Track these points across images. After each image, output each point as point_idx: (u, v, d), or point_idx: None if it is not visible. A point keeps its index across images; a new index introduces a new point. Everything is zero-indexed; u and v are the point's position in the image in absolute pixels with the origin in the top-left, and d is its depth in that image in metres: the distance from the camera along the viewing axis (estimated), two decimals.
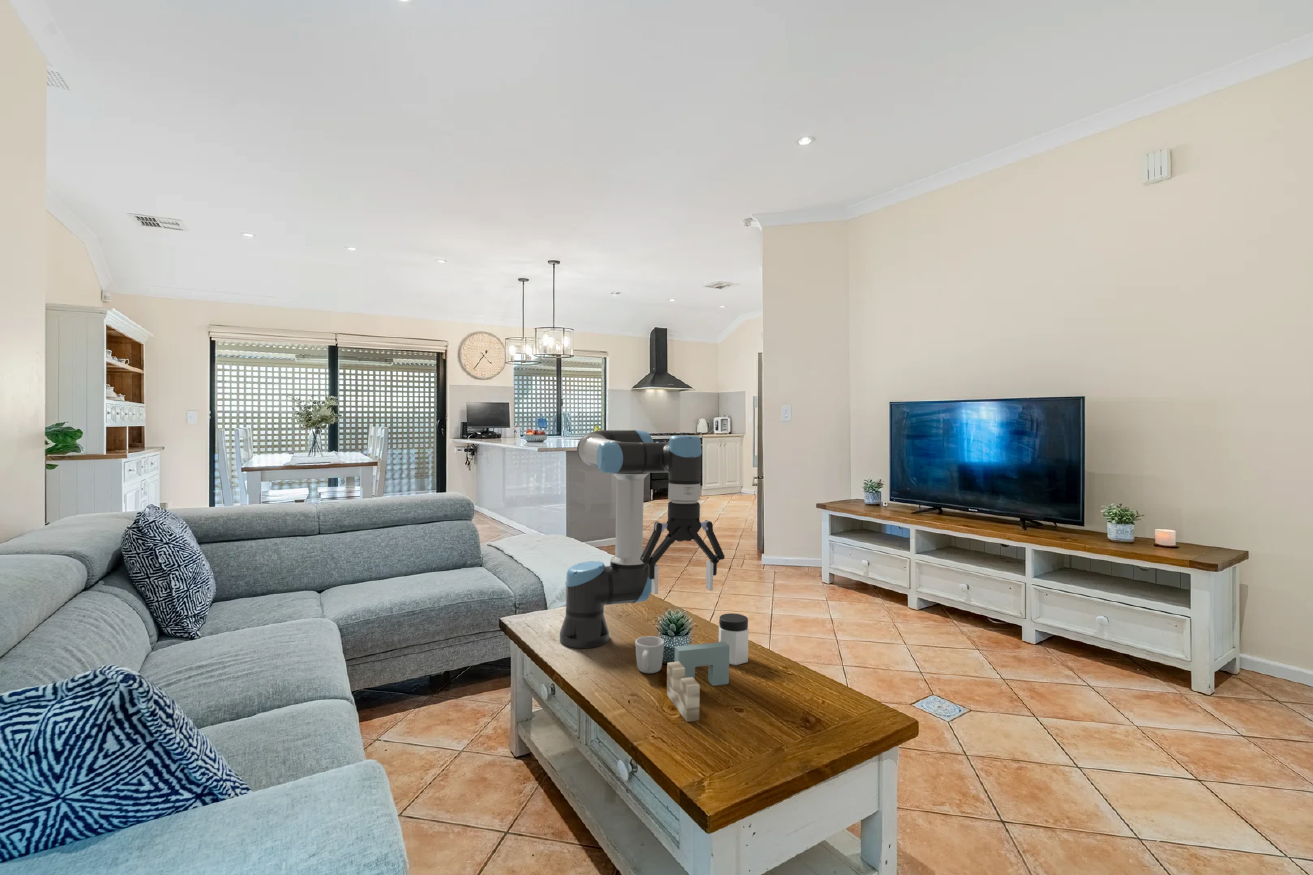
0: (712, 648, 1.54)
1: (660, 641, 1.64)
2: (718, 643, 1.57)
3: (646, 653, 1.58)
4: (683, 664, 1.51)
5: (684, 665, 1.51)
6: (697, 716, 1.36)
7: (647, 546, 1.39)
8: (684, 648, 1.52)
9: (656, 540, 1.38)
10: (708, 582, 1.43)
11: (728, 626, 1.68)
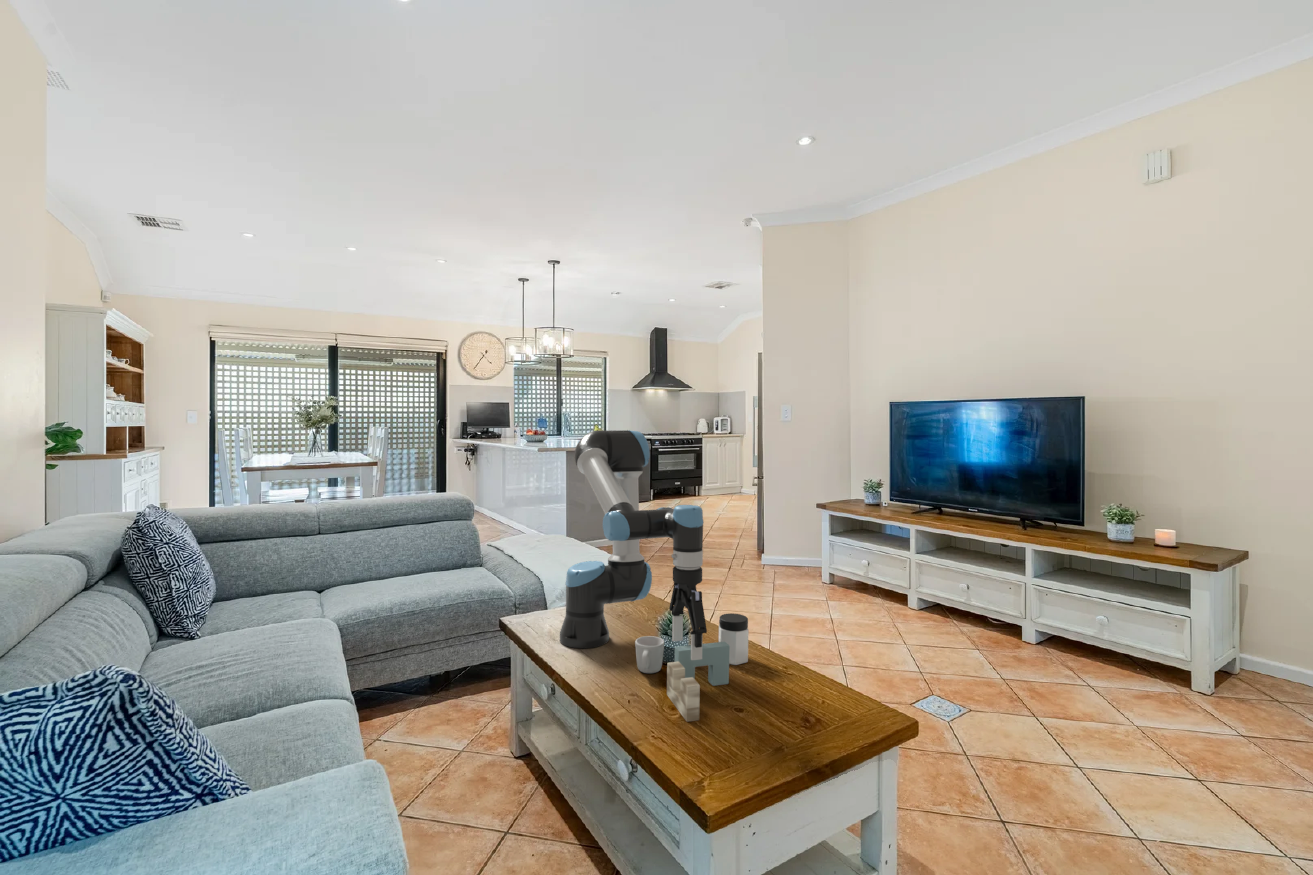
0: (712, 648, 1.54)
1: (660, 641, 1.64)
2: (718, 643, 1.57)
3: (646, 653, 1.58)
4: (683, 664, 1.51)
5: (684, 665, 1.51)
6: (697, 716, 1.36)
7: None
8: (684, 648, 1.52)
9: (673, 594, 1.59)
10: None
11: (728, 626, 1.68)
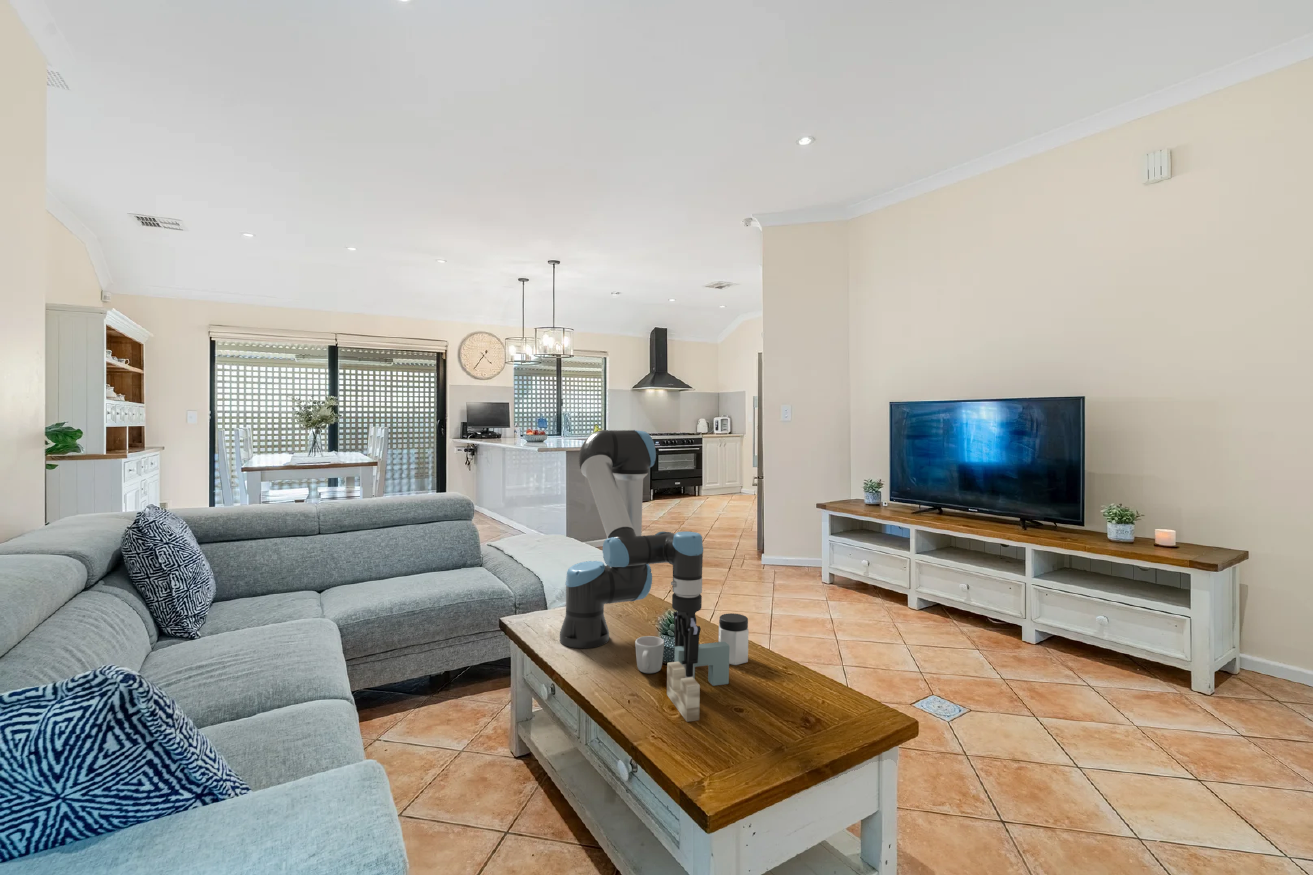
0: (712, 648, 1.54)
1: (660, 641, 1.64)
2: (718, 643, 1.57)
3: (646, 653, 1.58)
4: None
5: None
6: (697, 716, 1.36)
7: None
8: None
9: (675, 627, 1.57)
10: None
11: (728, 626, 1.68)
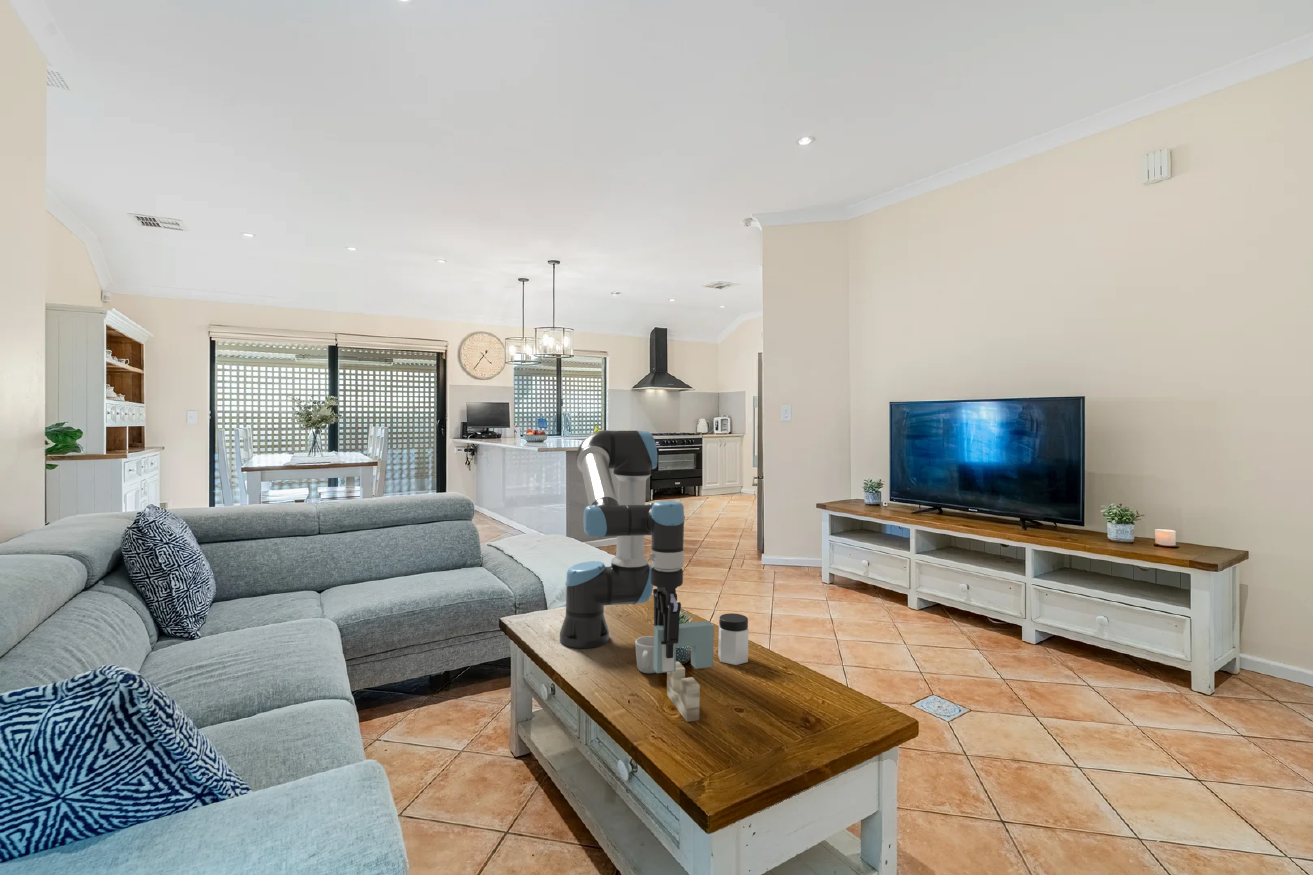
0: (694, 627, 1.41)
1: None
2: (702, 622, 1.44)
3: (646, 653, 1.58)
4: None
5: None
6: (697, 716, 1.36)
7: None
8: (663, 627, 1.40)
9: (655, 606, 1.45)
10: None
11: (728, 626, 1.68)
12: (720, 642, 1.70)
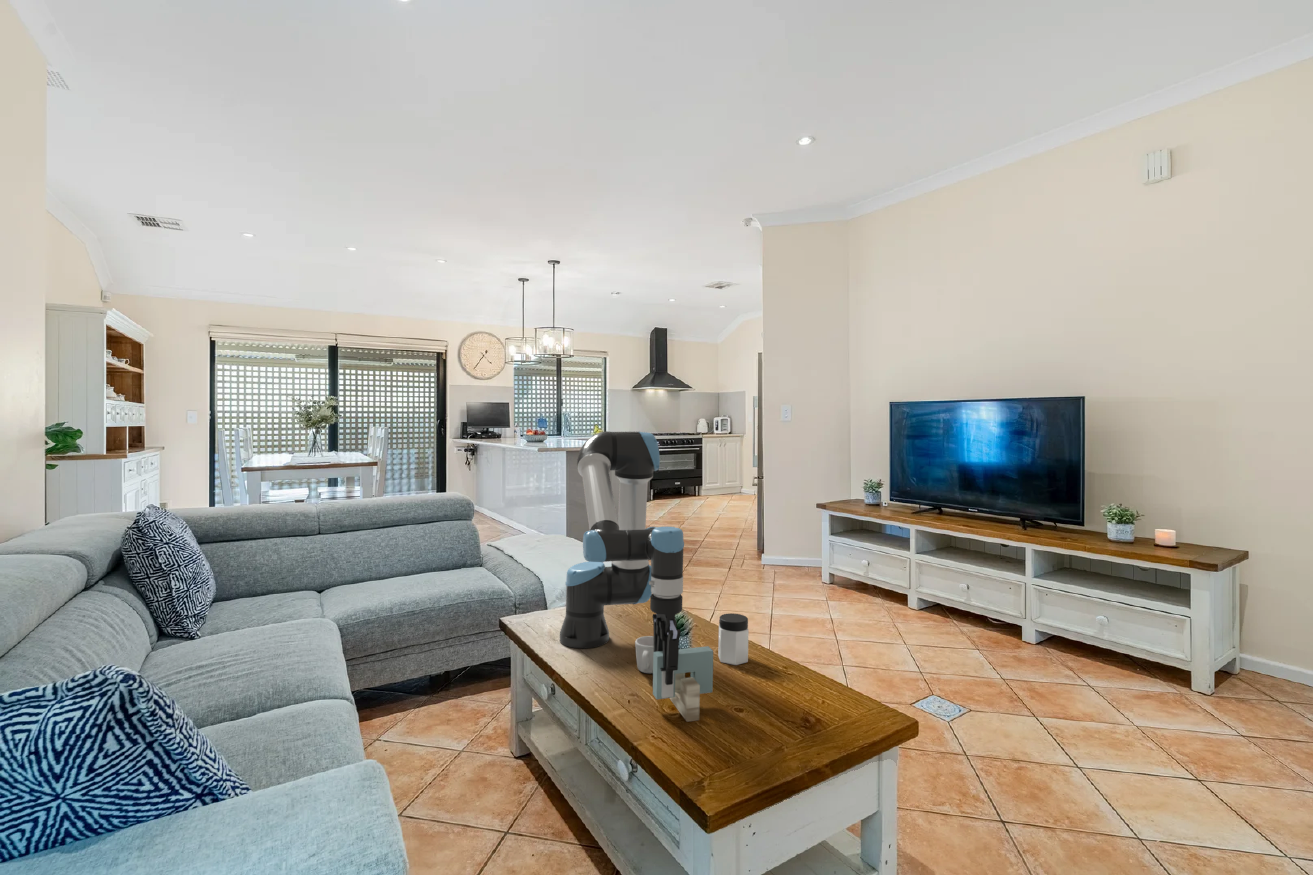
0: (694, 653, 1.41)
1: None
2: (701, 648, 1.44)
3: (646, 653, 1.58)
4: None
5: None
6: (697, 716, 1.36)
7: None
8: None
9: (654, 631, 1.45)
10: None
11: (728, 626, 1.68)
12: (720, 642, 1.70)
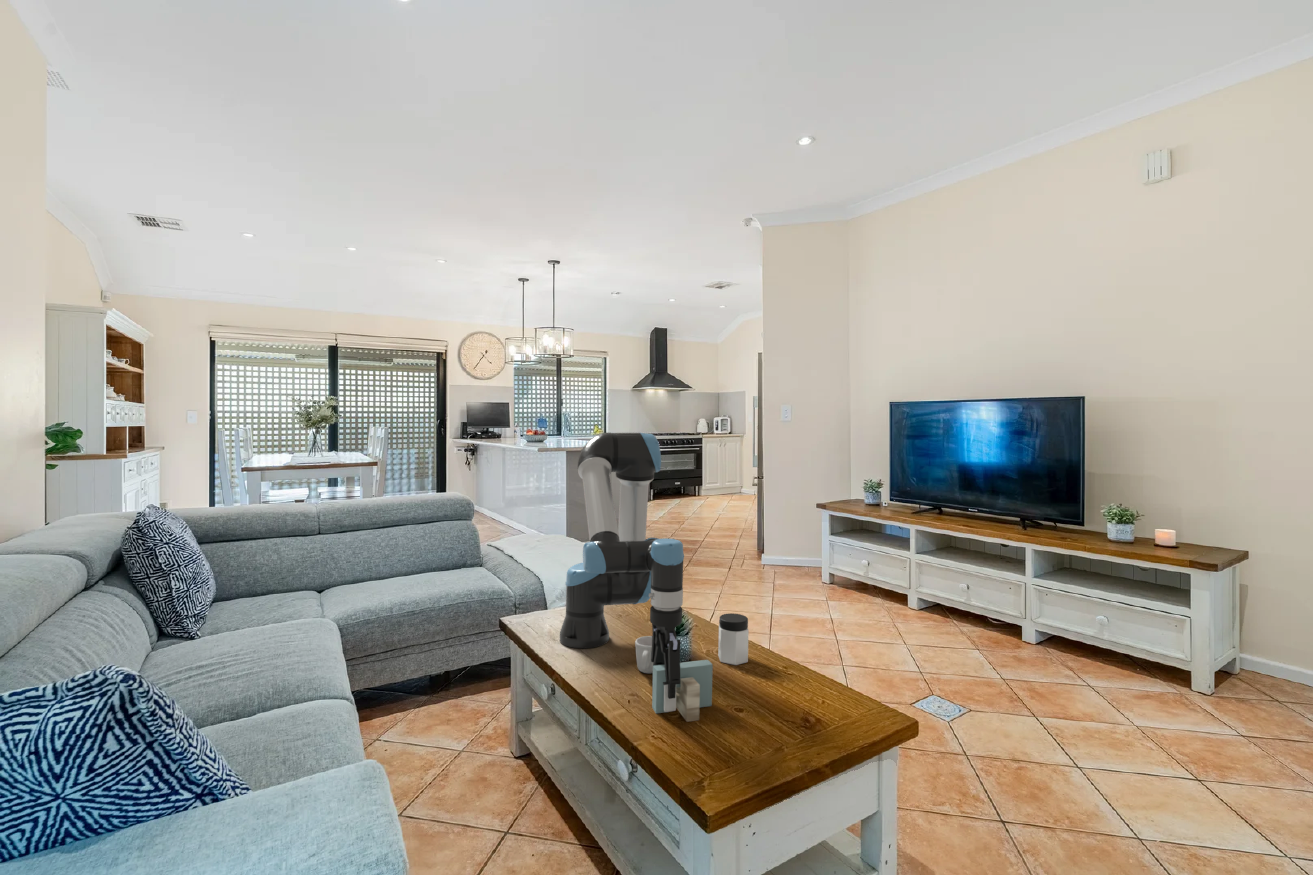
0: (693, 667, 1.41)
1: None
2: (700, 661, 1.44)
3: (646, 653, 1.58)
4: (662, 685, 1.39)
5: (663, 686, 1.39)
6: (697, 716, 1.36)
7: None
8: (662, 668, 1.40)
9: (653, 639, 1.46)
10: None
11: (728, 626, 1.68)
12: (720, 642, 1.70)
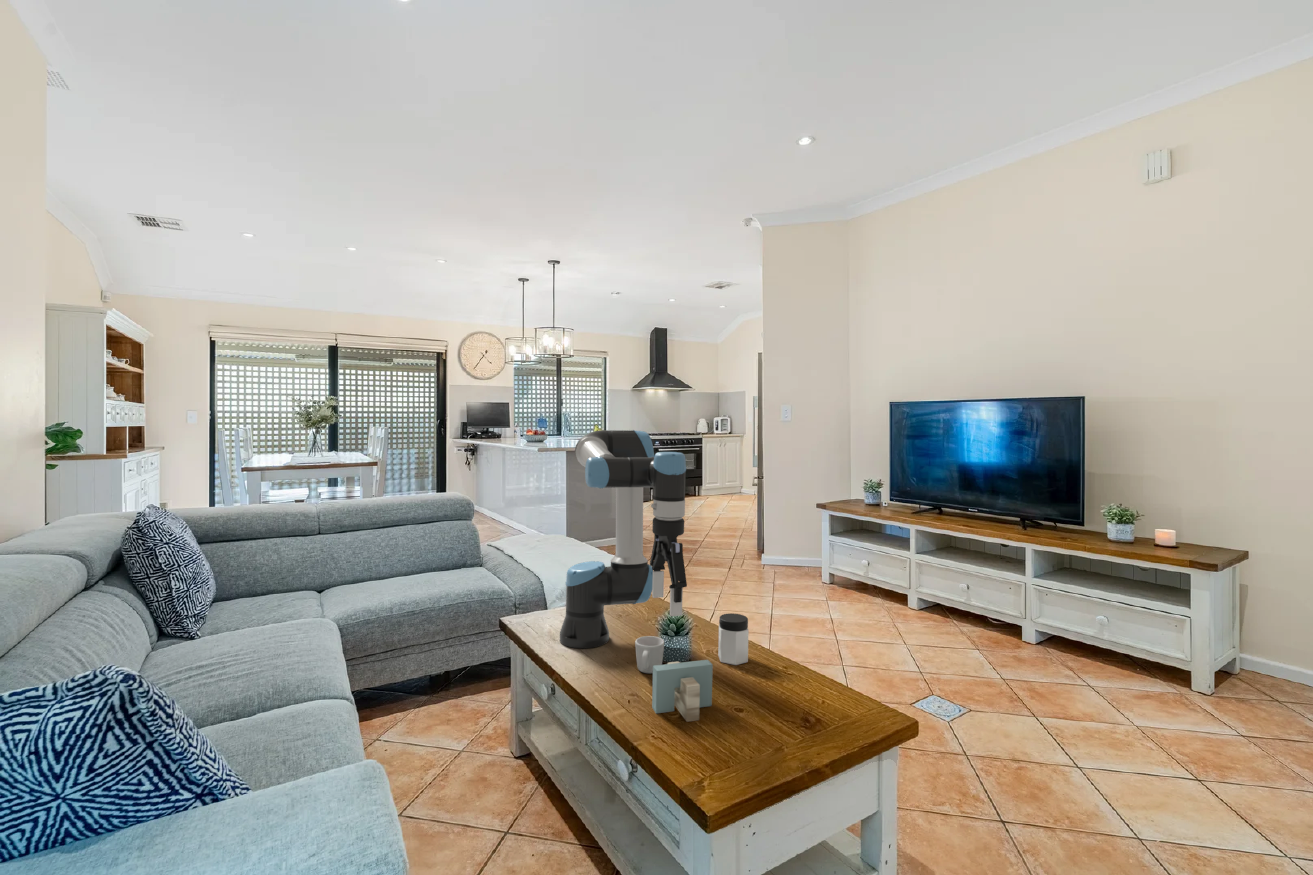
0: (693, 667, 1.41)
1: (660, 641, 1.64)
2: (700, 661, 1.44)
3: (646, 653, 1.58)
4: (662, 685, 1.39)
5: (663, 686, 1.39)
6: (697, 716, 1.36)
7: None
8: (662, 668, 1.40)
9: (654, 547, 1.49)
10: None
11: (728, 626, 1.68)
12: (720, 642, 1.70)
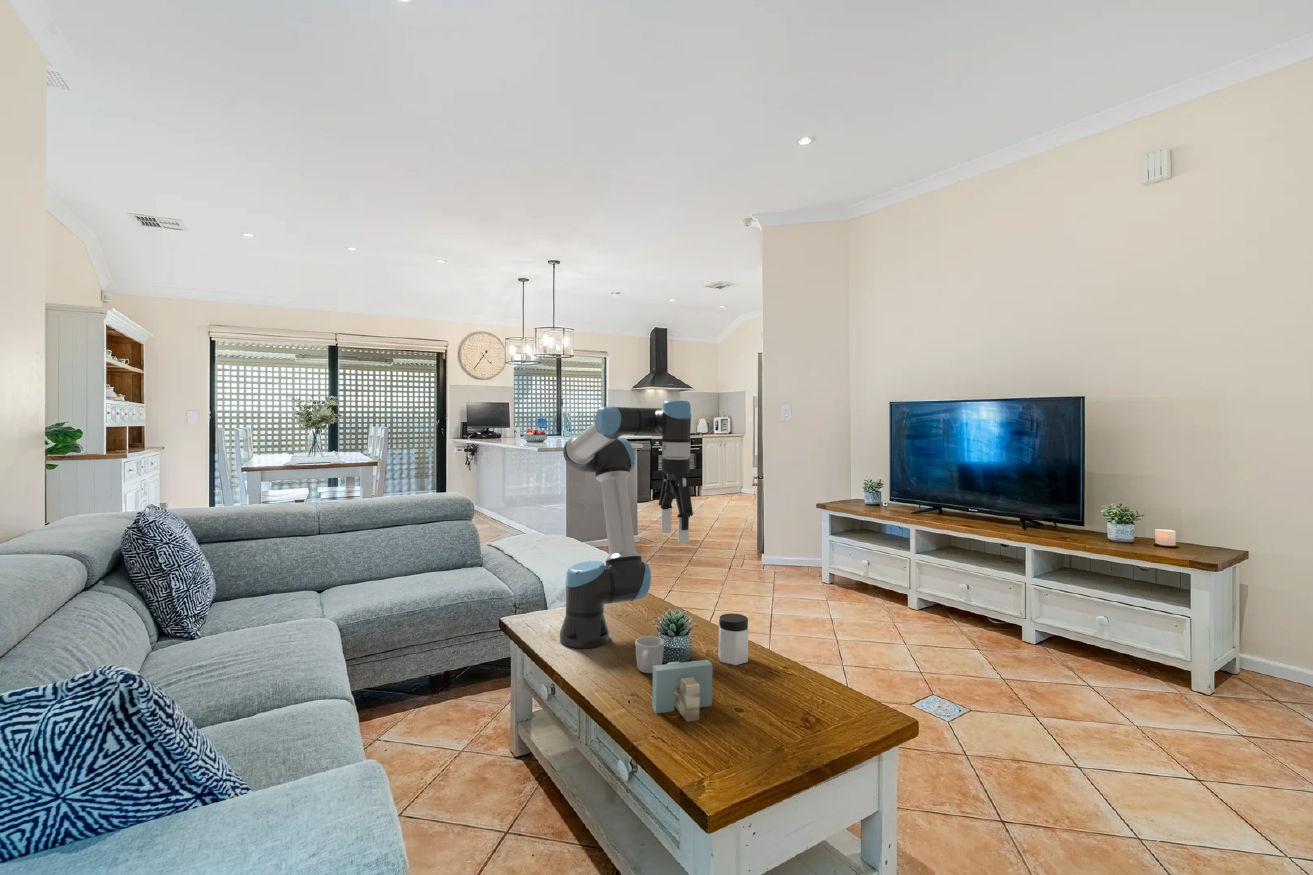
0: (693, 667, 1.41)
1: (660, 641, 1.64)
2: (700, 661, 1.44)
3: (646, 653, 1.58)
4: (662, 685, 1.39)
5: (663, 686, 1.39)
6: (697, 716, 1.36)
7: None
8: (662, 668, 1.40)
9: (662, 488, 1.67)
10: None
11: (728, 626, 1.68)
12: (720, 642, 1.70)
